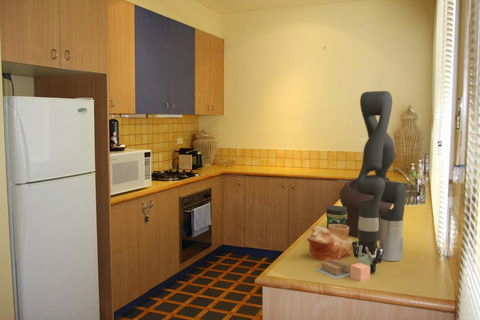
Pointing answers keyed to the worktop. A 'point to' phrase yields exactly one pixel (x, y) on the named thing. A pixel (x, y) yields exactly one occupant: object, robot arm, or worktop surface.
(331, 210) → the coffee jar
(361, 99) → the robot arm
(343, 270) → the walnut base
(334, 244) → the ceramic vessel
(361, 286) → the worktop surface
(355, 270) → the terracotta block
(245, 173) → the worktop surface
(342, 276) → the board
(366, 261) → the sage block
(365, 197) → the vase
